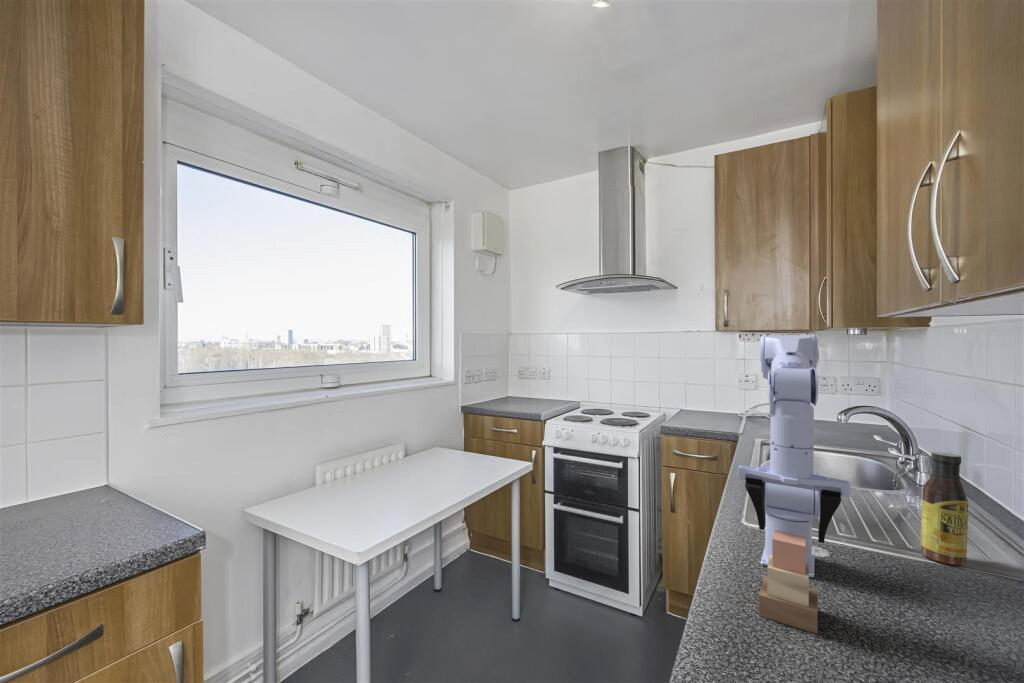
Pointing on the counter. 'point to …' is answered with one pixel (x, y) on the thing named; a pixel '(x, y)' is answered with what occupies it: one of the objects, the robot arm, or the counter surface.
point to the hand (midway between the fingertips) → (790, 534)
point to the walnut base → (790, 610)
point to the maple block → (788, 584)
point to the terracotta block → (789, 552)
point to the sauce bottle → (944, 512)
